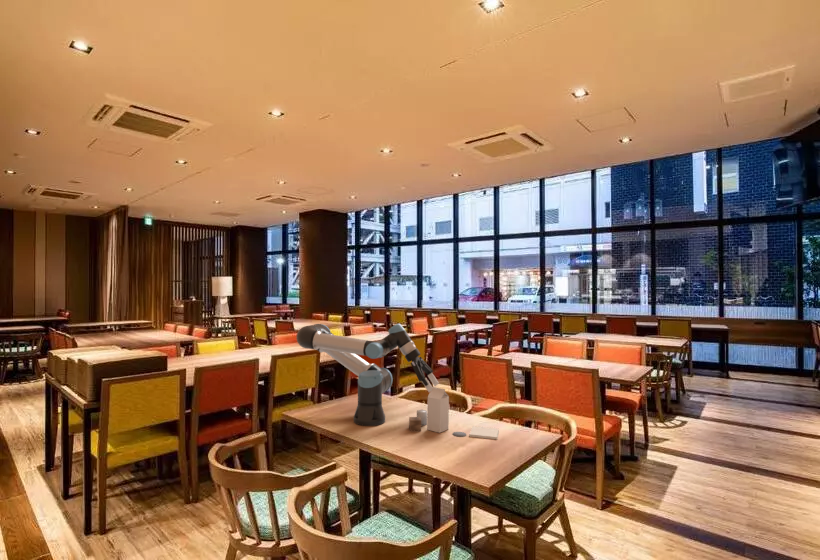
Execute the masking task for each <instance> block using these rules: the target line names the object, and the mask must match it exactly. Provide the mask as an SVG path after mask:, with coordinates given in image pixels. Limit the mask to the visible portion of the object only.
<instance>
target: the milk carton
mask: <svg viewBox="0 0 820 560" xmlns="http://www.w3.org/2000/svg"><path fill="white" fill-rule="evenodd" d="M449 409H450V396H449V394H448V393H447V392H446V389H445V388H441V387H436V386H432V390H431V391H430V392H429V394H428V396H427V410H426V411H427V425H426V426H427V427H426V429H427V430H428V431H432V432H434V433H439V434H440V433H442V432H445V431H448V430H449V424H450V423H449V415H450V414H449V412H450V410H449Z"/></svg>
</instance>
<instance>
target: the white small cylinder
mask: <svg viewBox="0 0 820 560" xmlns="http://www.w3.org/2000/svg"><path fill="white" fill-rule="evenodd" d="M416 417H420V418H421V427H423V426H427V410H426V409H418V410H416Z"/></svg>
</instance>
